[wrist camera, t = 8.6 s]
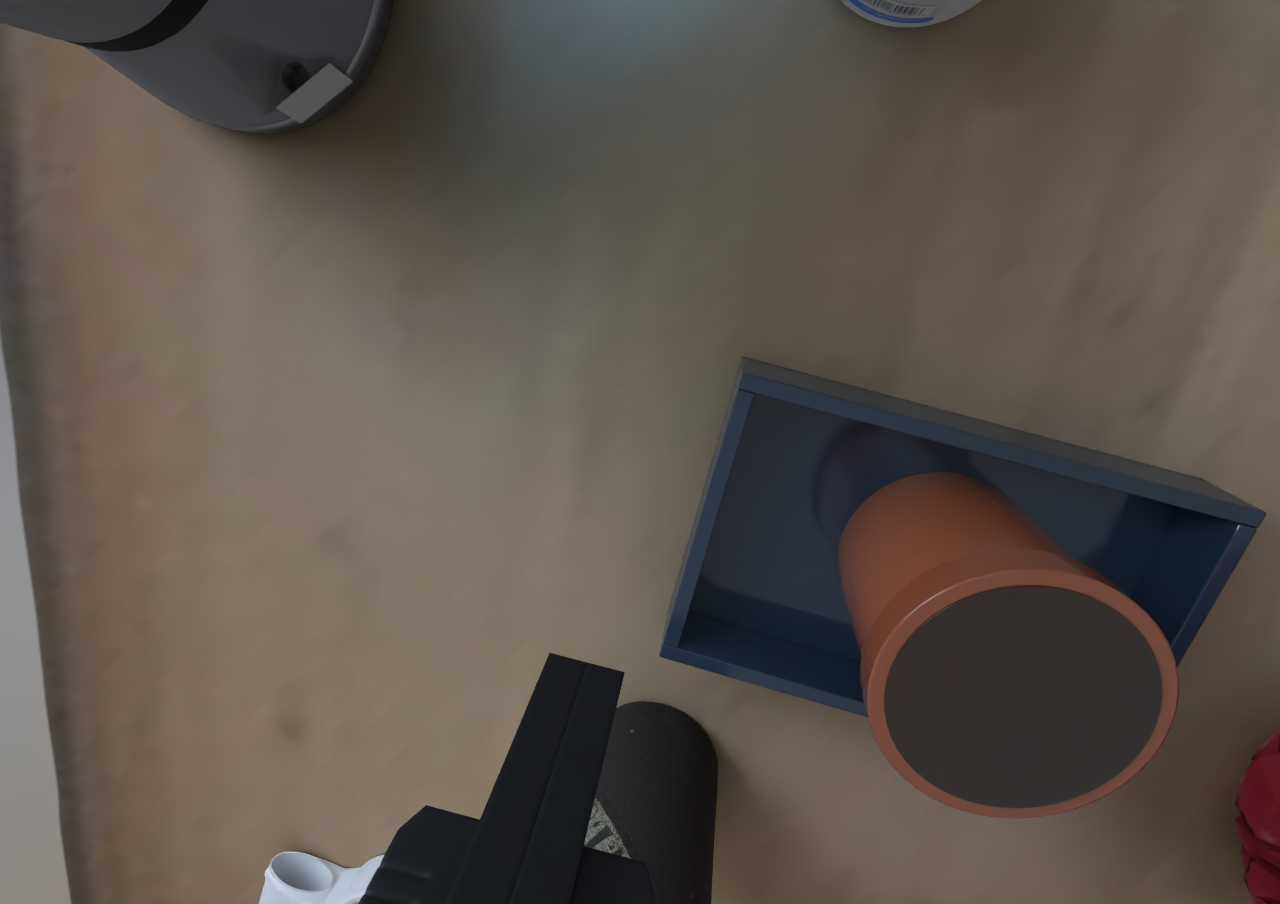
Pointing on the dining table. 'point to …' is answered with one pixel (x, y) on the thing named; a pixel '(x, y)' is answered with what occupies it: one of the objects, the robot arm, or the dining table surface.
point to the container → (659, 800)
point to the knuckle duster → (315, 880)
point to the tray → (873, 458)
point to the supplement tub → (909, 11)
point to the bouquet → (1261, 823)
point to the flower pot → (997, 653)
